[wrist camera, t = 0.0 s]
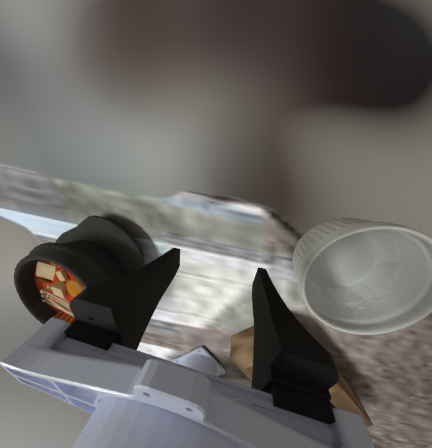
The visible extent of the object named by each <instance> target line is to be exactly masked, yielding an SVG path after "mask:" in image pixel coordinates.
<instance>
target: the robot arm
mask: <svg viewBox="0 0 432 448" xmlns="http://www.w3.org/2000/svg"><path fill="white" fill-rule="evenodd" d="M179 266H180V249H177V248H173V249H171V250H169V251H168V252H166V253H165V254H163V255H162V256H160V257H159V258H157V259H156V260H154V261H152V262H150V263H149V264H147V265H145V266H143V267H141V268H139V269H137V270H135V271H133V272H130V273H128V274H125V275H123V276H120V277H117V278H114V279H111V280H108V281H105V282H101V283H97V284H93V285H89V286H87V287H86V288H85V289H84V290H83V291H81V292H80V293H79V294H78V295H77V296H76V297H74V298H73V299H72V300H71V301H70V304H69V307H70V309H71V311H72V313H73V315H74V317H75V319H76V320H75V321H74V322H73V323H72V324H70V323H69V322H67V321H64V320H61V319H57V318H54V317H53V318H51V319H49V320H48V321H47V322H46V323H45V324H44V325H43V326H41V327H40V328H39V329H38V330H37V331H35V332H34V333H33V334H32V335H31V336H30V337H28V338H27V339H26V340H25V341H24V342H23V343H22V344H20V345H19V346H18V347H17V348H16V349H14V350H13V351H12V352H11V353H10V354H9V355H7V356H6V357H5V358H4V359H3V360H2V361H0V365H1V366H2V367H3V368H5V369H6V370H7V371H8V372H9V373H10V374H11V375H13V376H14V377H15V378H16V379H17V380H19V381H20V382H21V383H23V384H26V385H28V386H31V387H33V388H36V389H38V390H40V391H43V392H45V393H47V394H49V395H52V396H54V397H56V398H58V399H60V400H62V401H65V402H67V403H69V404H71V405H73V406H75V407H78V408H80V409H82V410H84V411H86V412H88V413H90V414H92V416H91V418H90V419H89V421H88V423H87V424H86V426H85V428H84V429H83V431H82V433H81V435H80V436H79V438H78V440H77V441H76V443H75V445H74V447H73V448H375V447H374V445H373V442H372V440H371V438H370V435H369V433H368V430H367V428H366V426H365V423H364V421H363V419H362V417H361V416H360V415H357V414H354V413H351V412H348V411H345V410H342V409H338V408H331V405H330V402H329V400H331V395H330V392H329V389H330V388H331V387H333V386H334V385H335V384H336V383H337V382H338V381H339V377H340V376H339V373H338V371H337V368H336V366H335V363H334V361H333V359H332V357H331V354H330V353H329V352H328V351H327V350H326V349H324V348H323V347H322V346H321V345H320V344H319V343H318V342H317V341H316V340H315V339H314V338H313V337H312V336H311V335H310V334H309V333H308V332H307V331H306V329H305V328H304V327H303V326H302V325H301V324H300V323H299V321H298V320H297V319H296V318H295V317H294V315H293V314H292V313H291V311H290V310H289V309H288V307H287V306H286V305H285V303H284V302H283V300H282V298H281V297H280V295H279V294H278V292H277V290H276V288H275V287H274V285H273V283H272V281H271V279H270V277H269V275H268V273H267V271H266V269H262V268H258V270H257V273H256V276H255V279H254V282H253V287H252V302H253V316H254V350H253V371H252V387H251V388H250V387H247V386H244V385H241V384H238V383H235V382H232V381H229V380H226V379H223V378H220V377H217V376H219V375H222V374H225V373H226V370H225V369H224V368H223V367H222V366H221V365H220V364H219V363H218V362H217V361H216V360H215V359H214V357H213V356H212V355H211V354H210V353H209V352H208V351H207V350H206V349H205V348H204V347H199V348H197V349H195V350H193V351H191V352H188V353H186V354H184V355H182V356H180V357H178V358H176V359H174V360H173V361H172V362H171V361H168V360H164V359H161V358H158V357H155V356H152V355H149V354H146V353H143V352H140V351H137V348H138V346H139V343H140V341H141V339H142V336H143V334H144V332H145V330H146V327H147V325H148V323H149V321H150V319H151V317H152V315H153V313H154V311H155V309H156V307H157V305H158V303H159V301H160V299H161V297H162V296H163V294H164V292H165V291H166V289H167V288H168V286H169V285H170V283H171V281H172V280H173V278H174V276H175V275H176V273H177V270H178V268H179Z"/></svg>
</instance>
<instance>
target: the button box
mask: <svg viewBox="0 0 432 448" xmlns="http://www.w3.org/2000/svg"><path fill="white" fill-rule="evenodd" d="M253 350H254V326H252V327H250V328H248V329H246V330H243V331H241V332H239V333H237V334H235V335H233V336H232V339H231V353H230V359H231V360H232V361H233V362H234V363H235V364H236V366H237V367H238V368H239V369H240V370H241V371H242V372H243V373H244V374H245V375H246V376H247V377H248V378H249V379H250V380H251V381H252V371H253ZM338 373H339V372H338ZM339 376H340V377H339V381H338V382H337V383H336V384H335V385H334V386H333V387H331V388H330V389H329V392H330V395H331V400H329V402H330V405H331V407H332V408H338V409H342V410H345V411H348V412H351V413H354V414H357V415H360V416H361V417H362V419H363V421H364V423H365V426H371V425H373V424H372V422H371V420H370V418H369V416H368V415H367V413H366V411H365V409H364V407H363V405H362V403H361V401H360V399H359V397H358V396H357V394H356V392H355V391H354V390H353V388H352V387H351V386H350V385H349V384H348V383H347V381H346V380H345V379H344V378H343V377H342V375H341V374H340V373H339Z"/></svg>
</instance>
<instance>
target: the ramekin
mask: <svg viewBox="0 0 432 448" xmlns="http://www.w3.org/2000/svg"><path fill="white" fill-rule="evenodd" d="M292 259H293V262H292V264H293V269H294V273H295V276H296V278H297V281H298V288H299V292H300V295H301V297H302V299H303V301H304V303H305V304H306V306H307V307H308V309H309V310H310V312H311V313H312V314H313V315H314V316H315V317H316V318H317V319H318V320H320V321H321V322H323V323H324V324H326V325H328V326H330V327H332V328H334V329H337V330H340V331H343V332H347V333H352V334H363V335H372V334H382V333H389V332H393V331H397V330H400V329H403V328H406V327H408V326H410V325H413V324H415V323H417V322H418V321H420V320H422V319H423V318H425V317H426V316H428V315H429V314H430V313H432V238H430V237H429V236H427V235H425V234H423V233H421V232H419V231H416V230H413V229H410V228H407V227H405V226H401V225H397V224H392V223H384V222H372V221H366V220H359V219H353V218H351V219H350V218H341V219H334V220H329V221H325V222H322V223H321V224H318V225H316V226H314V227H312V228H311V229H310V230H308V231H307V232H306V233H305V234H304V235H303V236H302V237H301V238H300V240H299V241H298V242H297V245H296V247H295V250H294V252H293V257H292Z"/></svg>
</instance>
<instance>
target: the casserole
mask: <svg viewBox="0 0 432 448" xmlns="http://www.w3.org/2000/svg"><path fill="white" fill-rule="evenodd" d="M143 261H144V259H143V254H142V251H141V249H140V248H139V246H138V244H137V243H136V242H135V240H134V239H133V238H132V237H131V235H129V234H128V233H127V232H126V231H125V230H124V229H123V228H122V227H120V226H119V225H117V224H116V223H114V222H112V221H110V220H108V219H106V218H104V217H99V216H90V217H87V218H86V219H85V220H84V221H82V222H81V223H80V224H79V225H78V226H77V227H75V228H73V229H71V230H69V231H67V232H65V233H63V234H62V235H61V236H60V237H59V238H58V239H57V241H56V242H55V243H44V244H41V245H39V246H37V247H35V248H34V249H33V250H32V251H31V252H30V254H29V255H28V256H26V257H25V258H23V259H22V260H21V261H20V262H19V263H18V264H17V266H16V268H15V272H14V283H15V286H16V290H17V293H18V295H19V297H20V299H21V300H22V302H23V304H24V305H25V307H26V308H27V309H28V310H29V312H30V313H31V314H32V315H33V316H34V317H35V318H36V319H37V320H38V321H40V322H41V323H42V324H43V325H44V324H45V323H46V322H47V321H48V320H49V319H51V318H53V317H54V318H57V319H61V320H64V321H67V322H69V323H70V324H72V323H73V322H74V321H75V320H76V319H75V317H74V315H73V313H72V311H71V309H70V307H69V304H70V301H71V300H72V299H73V298H74V297H76V296H77V295H78V294H79V293H80V292H81V291H83V290H84V289H85V288H86V287H87V286H89V285H93V284H97V283H101V282H105V281H108V280H111V279H114V278H117V277H120V276H123V275H125V274H128V273H130V272H133V271H135V270H137V269H139V268H141V267H142V266H143Z"/></svg>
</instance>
